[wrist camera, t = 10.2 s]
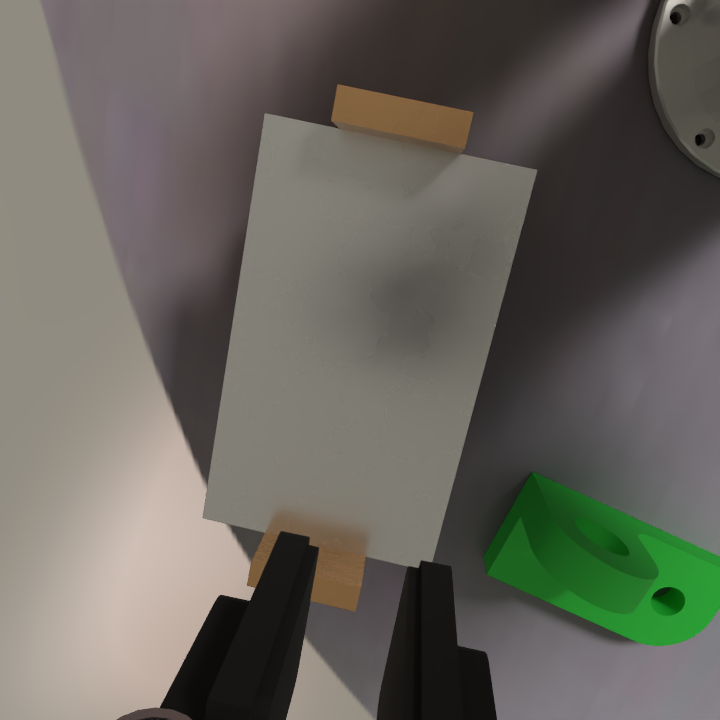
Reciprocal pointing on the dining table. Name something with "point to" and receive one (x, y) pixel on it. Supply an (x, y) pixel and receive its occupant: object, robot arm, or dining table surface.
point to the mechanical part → (604, 565)
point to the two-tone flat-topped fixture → (361, 332)
